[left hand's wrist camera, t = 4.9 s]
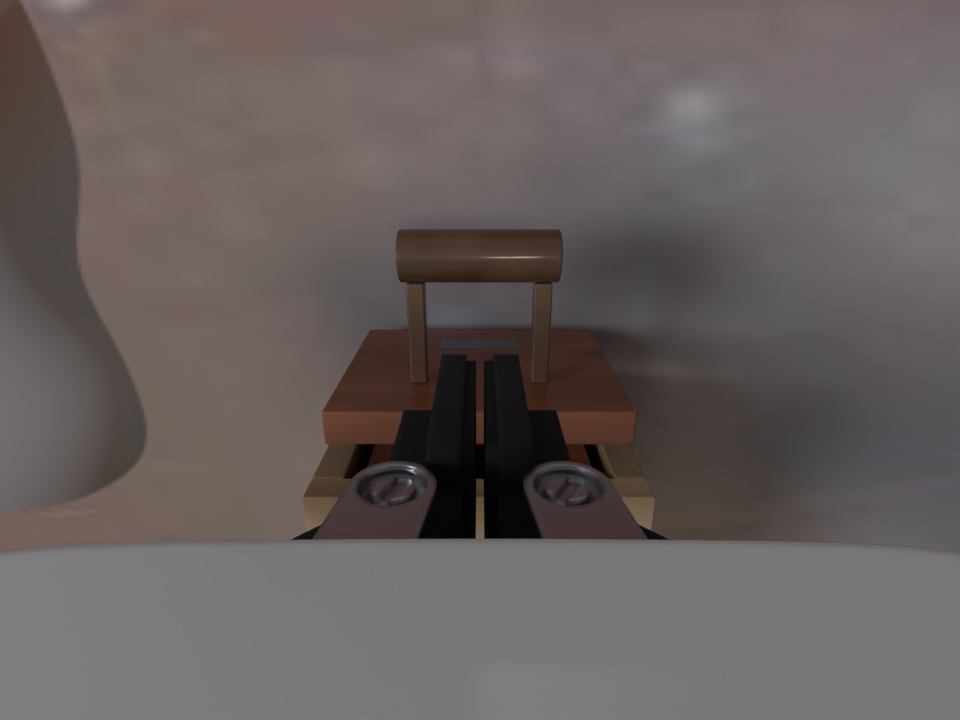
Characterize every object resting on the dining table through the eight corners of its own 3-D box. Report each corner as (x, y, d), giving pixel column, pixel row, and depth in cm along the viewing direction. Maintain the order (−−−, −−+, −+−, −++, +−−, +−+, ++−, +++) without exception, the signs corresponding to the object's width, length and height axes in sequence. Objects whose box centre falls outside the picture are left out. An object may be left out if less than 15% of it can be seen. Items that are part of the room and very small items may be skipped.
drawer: (360, 209, 24) (301, 242, 16) (598, 209, 24) (657, 242, 16) (394, 647, 33) (367, 806, 25) (565, 648, 33) (591, 807, 25)
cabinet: (365, 370, 27) (301, 497, 18) (594, 370, 27) (657, 497, 18) (390, 679, 35) (355, 886, 25) (569, 680, 35) (603, 886, 25)
